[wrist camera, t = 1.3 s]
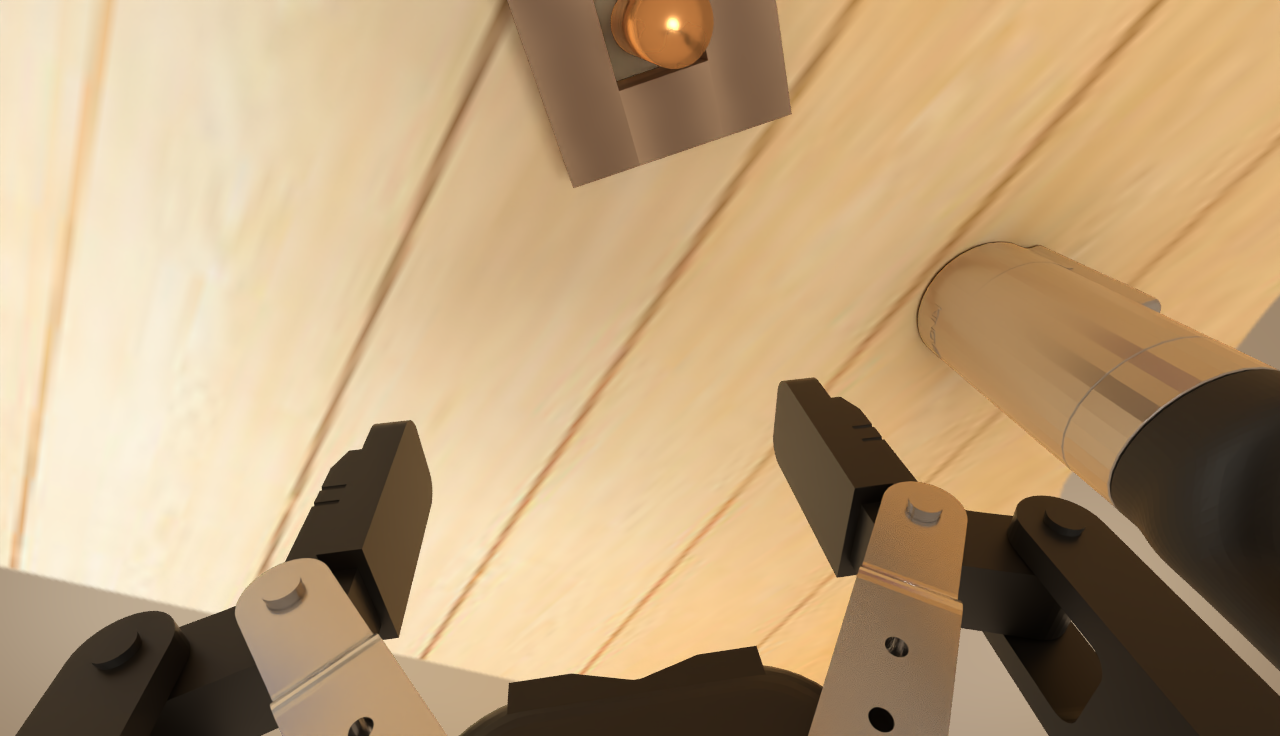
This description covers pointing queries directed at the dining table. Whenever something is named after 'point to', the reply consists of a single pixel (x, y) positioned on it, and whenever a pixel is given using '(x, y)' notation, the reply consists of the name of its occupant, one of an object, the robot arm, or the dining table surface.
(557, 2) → the pin mount
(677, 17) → the pin
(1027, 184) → the dining table surface
